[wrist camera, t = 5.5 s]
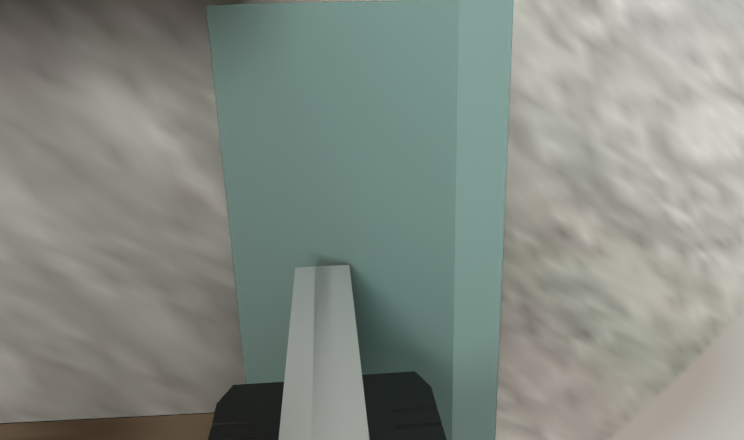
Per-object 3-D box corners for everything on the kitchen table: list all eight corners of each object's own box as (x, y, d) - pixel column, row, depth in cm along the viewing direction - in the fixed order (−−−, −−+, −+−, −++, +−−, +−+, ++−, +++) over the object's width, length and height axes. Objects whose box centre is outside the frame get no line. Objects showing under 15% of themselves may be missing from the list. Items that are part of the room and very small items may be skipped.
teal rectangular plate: (250, 420, 22) (448, 644, 14) (205, 5, 18) (458, -1, 10) (281, 407, 23) (487, 614, 15) (246, 3, 18) (513, -2, 10)
